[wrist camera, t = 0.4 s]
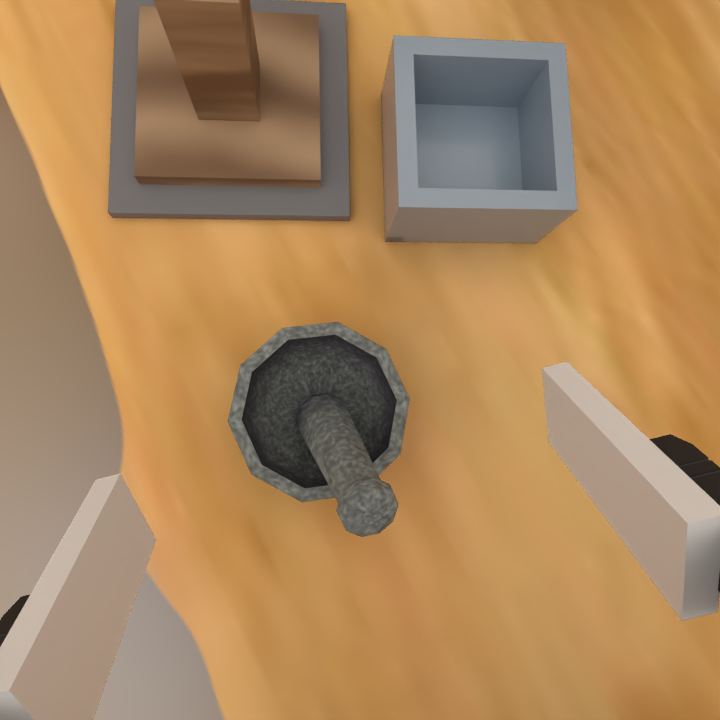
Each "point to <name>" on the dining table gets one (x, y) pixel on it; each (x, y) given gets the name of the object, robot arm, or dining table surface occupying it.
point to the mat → (234, 200)
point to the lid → (227, 96)
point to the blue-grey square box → (476, 140)
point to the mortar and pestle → (323, 420)
